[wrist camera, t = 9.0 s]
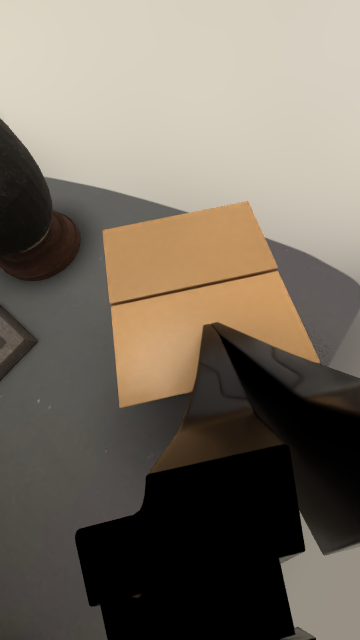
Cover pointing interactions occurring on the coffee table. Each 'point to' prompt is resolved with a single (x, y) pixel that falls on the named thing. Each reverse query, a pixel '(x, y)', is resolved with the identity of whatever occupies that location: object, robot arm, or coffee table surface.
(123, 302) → the carton
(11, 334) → the picture frame
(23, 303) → the coffee table surface
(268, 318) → the flap
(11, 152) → the black ball on stand
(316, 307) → the coffee table surface
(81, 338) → the coffee table surface
